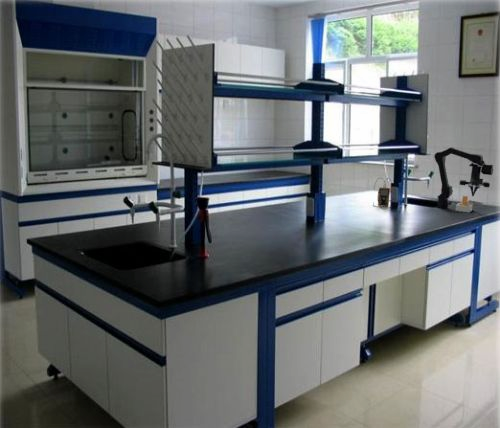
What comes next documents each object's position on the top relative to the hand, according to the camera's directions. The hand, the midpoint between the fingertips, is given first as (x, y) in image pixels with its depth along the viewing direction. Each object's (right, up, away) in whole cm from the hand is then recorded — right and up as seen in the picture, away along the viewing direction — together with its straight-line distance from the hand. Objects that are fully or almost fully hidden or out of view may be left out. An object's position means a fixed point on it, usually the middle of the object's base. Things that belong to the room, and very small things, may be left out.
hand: (472, 196), depth 380 cm
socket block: (-4, -10, +5) cm, 12 cm away
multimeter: (-59, -7, +9) cm, 60 cm away
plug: (-4, -9, +5) cm, 11 cm away
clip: (+3, -6, +3) cm, 7 cm away
